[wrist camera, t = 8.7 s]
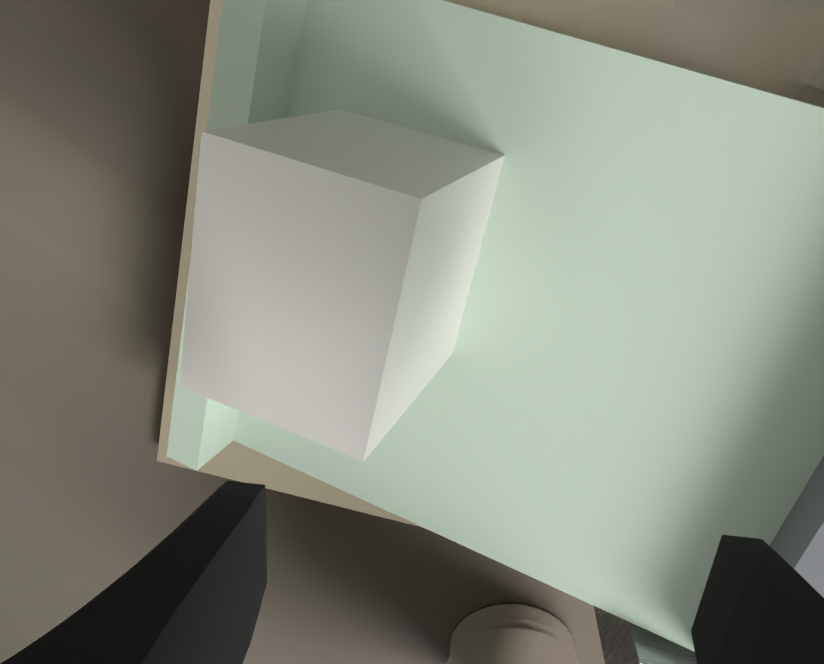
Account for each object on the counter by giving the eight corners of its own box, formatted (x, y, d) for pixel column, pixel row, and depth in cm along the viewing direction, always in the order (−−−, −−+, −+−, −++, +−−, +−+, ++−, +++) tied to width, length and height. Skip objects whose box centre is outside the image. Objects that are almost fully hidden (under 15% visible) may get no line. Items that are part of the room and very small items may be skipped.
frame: (1146, 81, 17) (1452, 123, 12) (799, 609, 25) (889, 782, 19) (239, -174, 17) (124, -254, 11) (164, 450, 24) (73, 583, 19)
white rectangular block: (505, 155, 16) (421, 199, 11) (452, 353, 18) (363, 461, 13) (342, 109, 17) (201, 130, 12) (310, 302, 19) (179, 386, 14)
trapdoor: (1268, 230, 14) (1481, 297, 10) (910, 681, 20) (961, 834, 16) (326, -35, 19) (229, -58, 15) (251, 392, 24) (166, 456, 20)
